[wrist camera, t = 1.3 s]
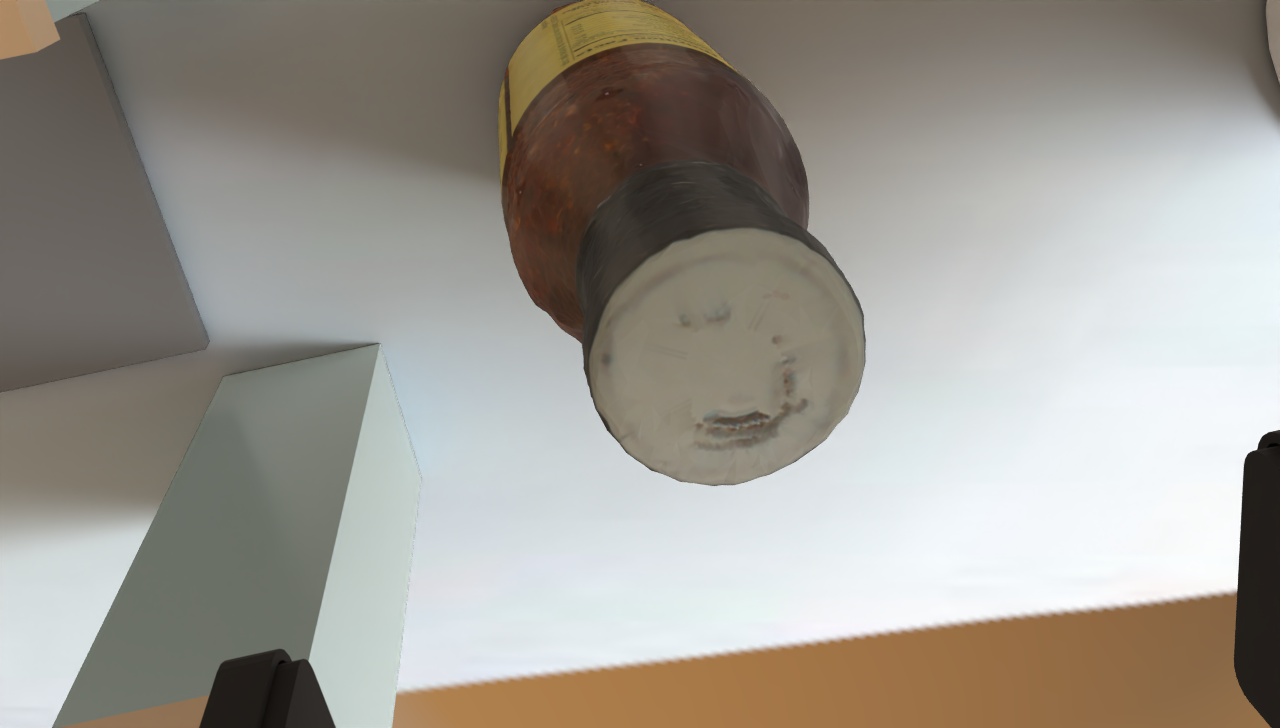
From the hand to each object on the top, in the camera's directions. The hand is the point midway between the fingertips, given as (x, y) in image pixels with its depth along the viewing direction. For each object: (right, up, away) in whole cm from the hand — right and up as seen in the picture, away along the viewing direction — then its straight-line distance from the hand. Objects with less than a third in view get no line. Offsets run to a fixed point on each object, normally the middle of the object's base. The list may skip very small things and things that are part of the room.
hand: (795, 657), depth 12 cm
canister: (-12, +1, +26) cm, 29 cm away
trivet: (-21, +7, +23) cm, 31 cm away
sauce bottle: (-3, +11, +23) cm, 26 cm away
